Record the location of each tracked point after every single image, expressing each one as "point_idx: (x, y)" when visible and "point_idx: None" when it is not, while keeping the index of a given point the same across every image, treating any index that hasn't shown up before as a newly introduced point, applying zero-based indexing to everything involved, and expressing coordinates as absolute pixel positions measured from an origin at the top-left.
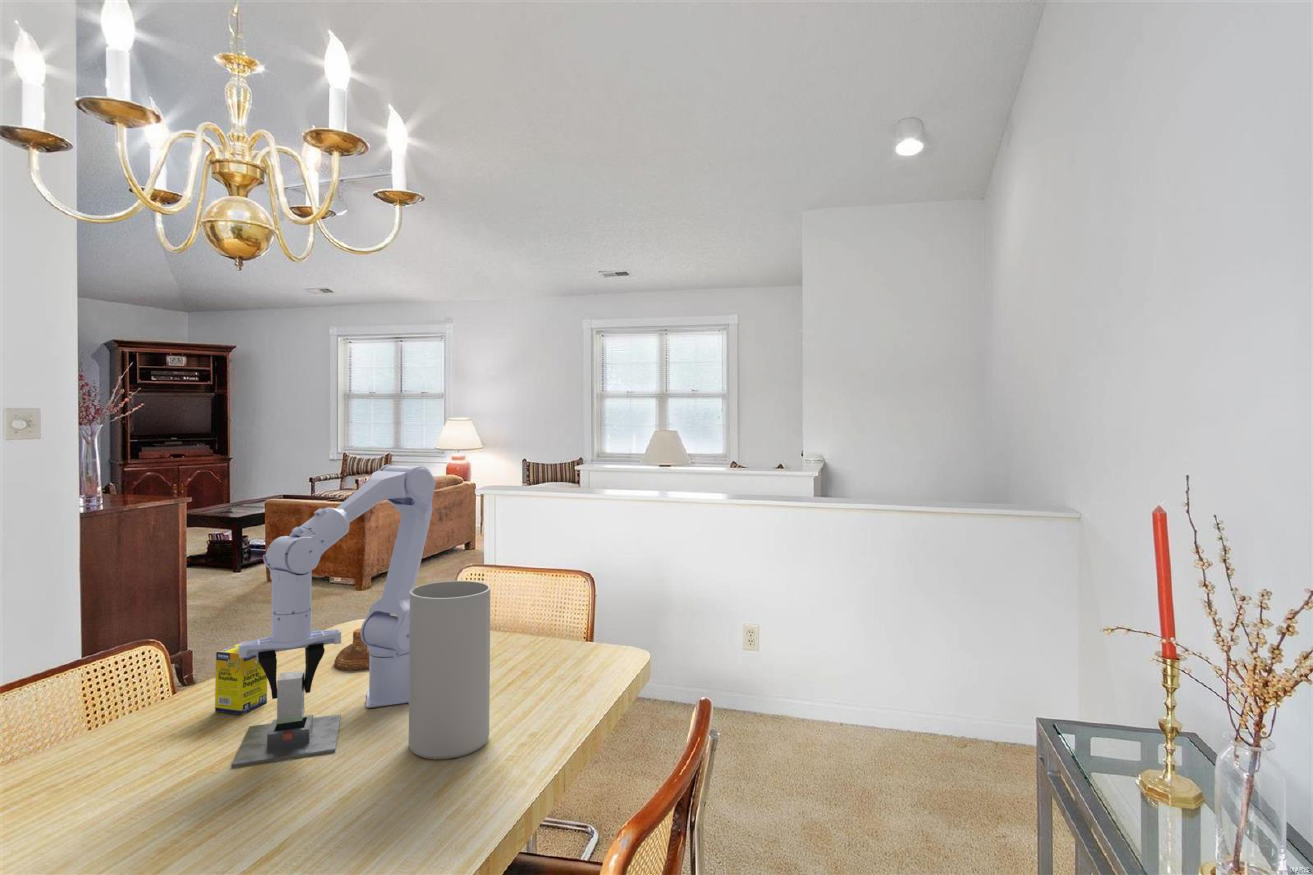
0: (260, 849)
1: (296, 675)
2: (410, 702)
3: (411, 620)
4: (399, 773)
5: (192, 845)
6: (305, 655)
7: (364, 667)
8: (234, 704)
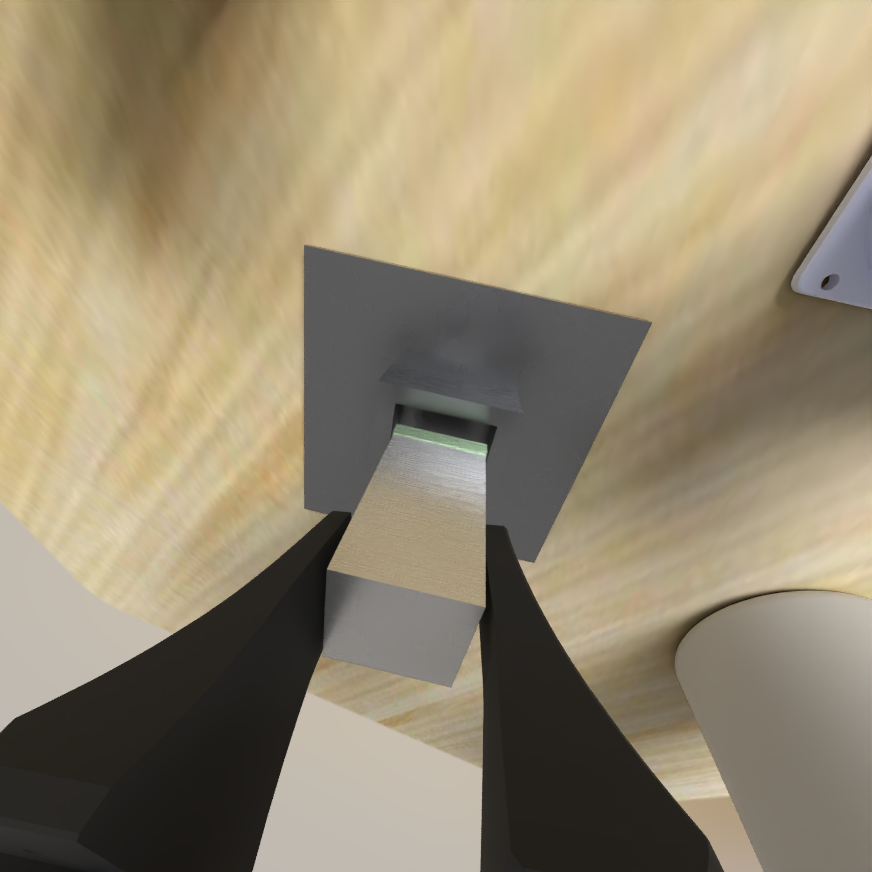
0: (383, 710)
1: (425, 647)
2: (754, 812)
3: None
4: (608, 679)
5: None
6: (499, 734)
7: None
8: None
